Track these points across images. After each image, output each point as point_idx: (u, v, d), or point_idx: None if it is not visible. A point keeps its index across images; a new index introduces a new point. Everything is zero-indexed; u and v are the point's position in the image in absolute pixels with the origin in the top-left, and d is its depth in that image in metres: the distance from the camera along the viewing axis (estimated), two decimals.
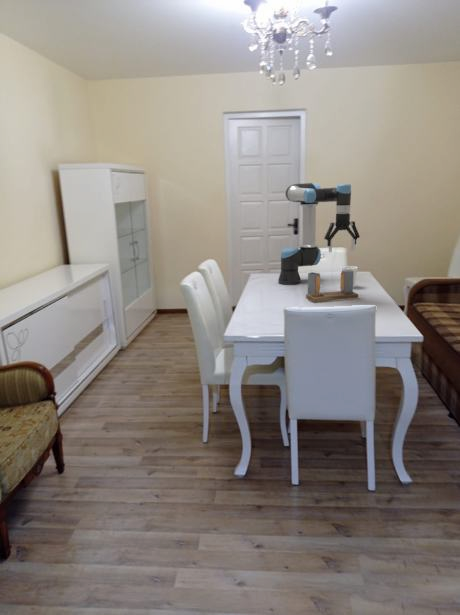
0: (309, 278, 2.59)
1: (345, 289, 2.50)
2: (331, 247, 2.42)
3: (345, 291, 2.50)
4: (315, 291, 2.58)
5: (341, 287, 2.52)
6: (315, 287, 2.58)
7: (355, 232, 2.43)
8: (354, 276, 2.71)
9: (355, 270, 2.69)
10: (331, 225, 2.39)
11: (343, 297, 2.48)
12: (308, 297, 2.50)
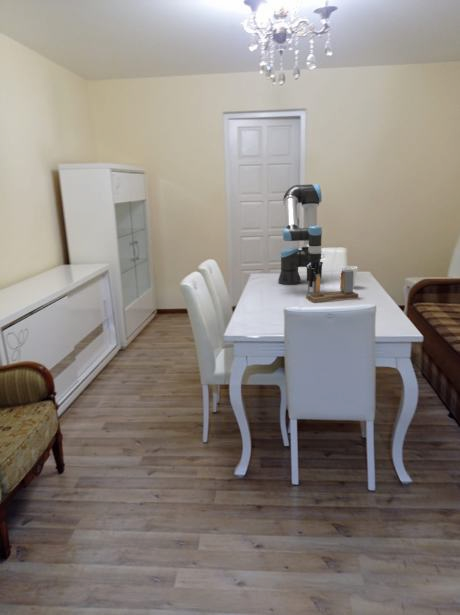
0: None
1: (345, 289, 2.50)
2: None
3: (345, 291, 2.50)
4: (315, 291, 2.58)
5: (341, 287, 2.52)
6: (315, 287, 2.58)
7: None
8: (354, 276, 2.71)
9: (355, 270, 2.69)
10: (319, 264, 2.62)
11: (343, 297, 2.48)
12: (308, 297, 2.50)
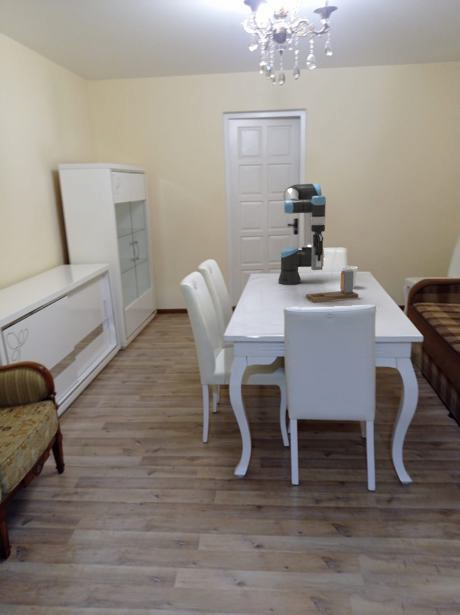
0: (315, 252, 2.43)
1: (345, 289, 2.50)
2: None
3: (345, 291, 2.50)
4: (322, 265, 2.45)
5: (341, 287, 2.52)
6: (322, 261, 2.45)
7: None
8: (354, 276, 2.71)
9: (355, 270, 2.69)
10: (313, 237, 2.49)
11: (343, 297, 2.48)
12: (308, 297, 2.50)
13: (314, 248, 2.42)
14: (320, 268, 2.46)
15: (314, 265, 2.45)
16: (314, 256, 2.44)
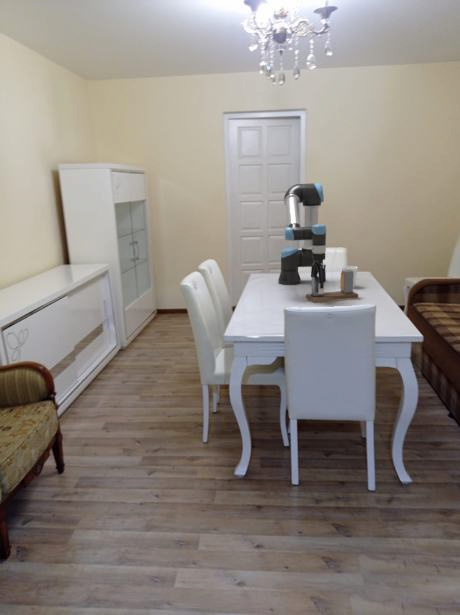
0: (316, 282, 2.45)
1: (345, 289, 2.50)
2: None
3: (345, 291, 2.50)
4: (322, 294, 2.48)
5: (341, 287, 2.52)
6: (323, 291, 2.47)
7: None
8: (354, 276, 2.71)
9: (355, 270, 2.69)
10: (312, 263, 2.50)
11: (343, 297, 2.48)
12: (308, 297, 2.50)
13: (315, 279, 2.44)
14: None
15: (315, 295, 2.47)
16: (315, 286, 2.45)
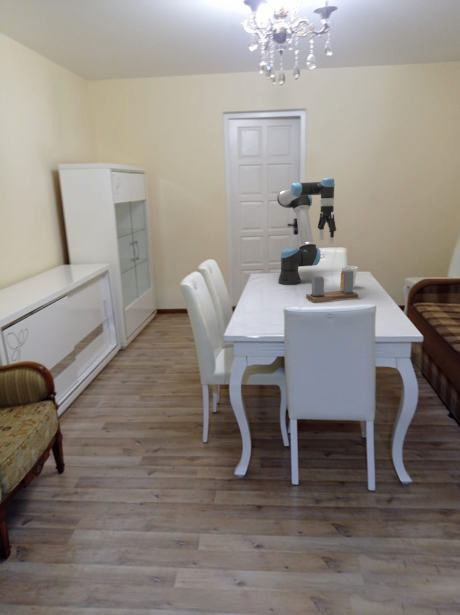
0: (316, 283, 2.45)
1: (345, 289, 2.50)
2: (319, 235, 2.66)
3: (345, 291, 2.50)
4: (323, 294, 2.48)
5: (341, 287, 2.52)
6: (323, 291, 2.47)
7: (331, 225, 2.51)
8: (354, 276, 2.71)
9: (355, 270, 2.69)
10: None
11: (343, 297, 2.48)
12: (308, 297, 2.50)
13: (315, 279, 2.44)
14: None
15: (315, 295, 2.47)
16: (315, 286, 2.45)
